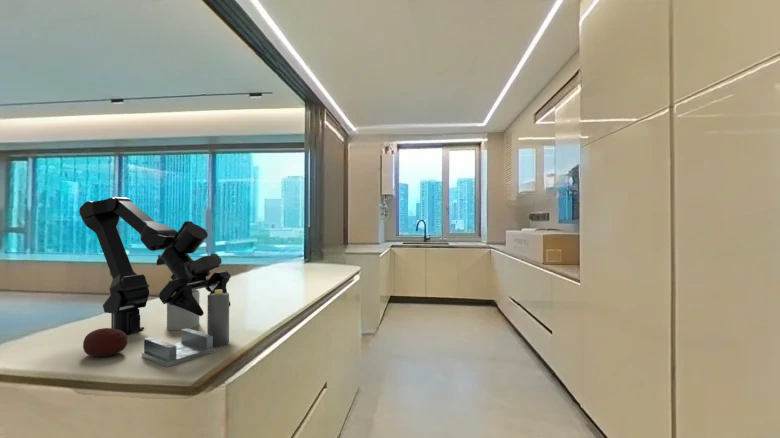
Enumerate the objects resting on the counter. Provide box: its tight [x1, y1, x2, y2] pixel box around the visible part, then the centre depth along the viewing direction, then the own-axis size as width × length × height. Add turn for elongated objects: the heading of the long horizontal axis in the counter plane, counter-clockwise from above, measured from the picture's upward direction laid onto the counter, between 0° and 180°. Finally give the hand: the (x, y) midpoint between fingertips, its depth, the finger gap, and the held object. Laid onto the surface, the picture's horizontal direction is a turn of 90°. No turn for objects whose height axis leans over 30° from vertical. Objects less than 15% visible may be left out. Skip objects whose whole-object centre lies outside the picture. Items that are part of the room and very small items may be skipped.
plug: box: [206, 289, 230, 348], centre depth 96 cm, size 12×5×14 cm, turn 73°
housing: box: [141, 328, 216, 368], centre depth 88 cm, size 11×11×4 cm
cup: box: [166, 289, 200, 331], centre depth 111 cm, size 8×8×10 cm
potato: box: [82, 327, 128, 358], centre depth 87 cm, size 7×10×6 cm
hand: (216, 310), depth 95 cm, fingers open, 9 cm apart
